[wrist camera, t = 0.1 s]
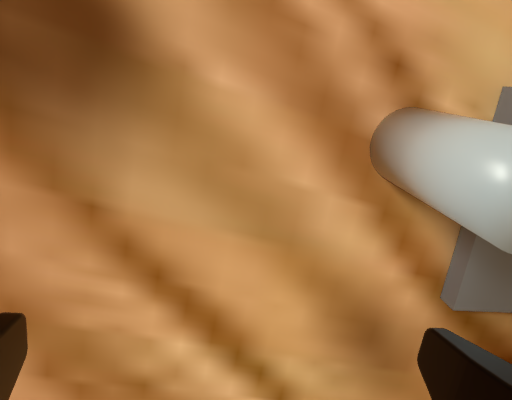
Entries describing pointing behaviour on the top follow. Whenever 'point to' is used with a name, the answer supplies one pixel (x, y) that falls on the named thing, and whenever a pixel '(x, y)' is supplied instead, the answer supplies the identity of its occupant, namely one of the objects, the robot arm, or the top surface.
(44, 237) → the top surface
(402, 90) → the top surface
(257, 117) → the top surface
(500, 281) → the shelf board
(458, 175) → the white dome-topped cylinder
